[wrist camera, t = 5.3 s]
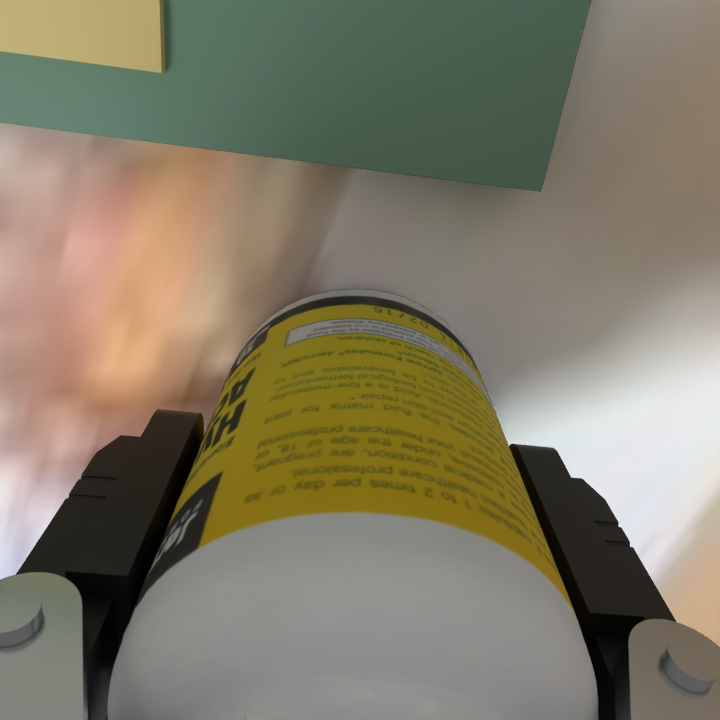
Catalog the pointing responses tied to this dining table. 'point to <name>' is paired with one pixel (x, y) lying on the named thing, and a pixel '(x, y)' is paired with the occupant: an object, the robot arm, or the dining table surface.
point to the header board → (304, 78)
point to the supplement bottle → (353, 542)
